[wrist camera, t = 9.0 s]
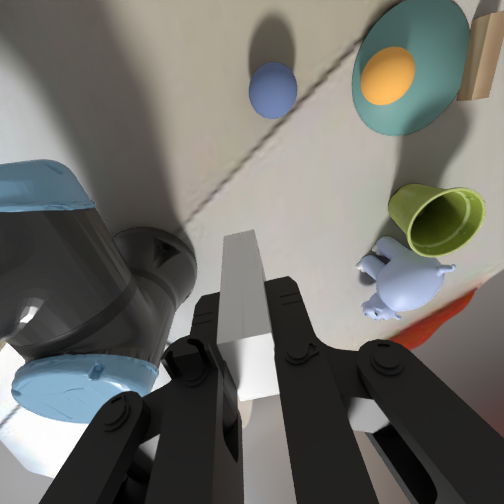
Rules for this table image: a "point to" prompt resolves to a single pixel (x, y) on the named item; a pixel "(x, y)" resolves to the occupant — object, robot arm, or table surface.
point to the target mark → (416, 63)
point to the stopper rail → (482, 56)
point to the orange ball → (387, 75)
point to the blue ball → (273, 90)
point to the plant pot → (437, 217)
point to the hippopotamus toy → (400, 279)
